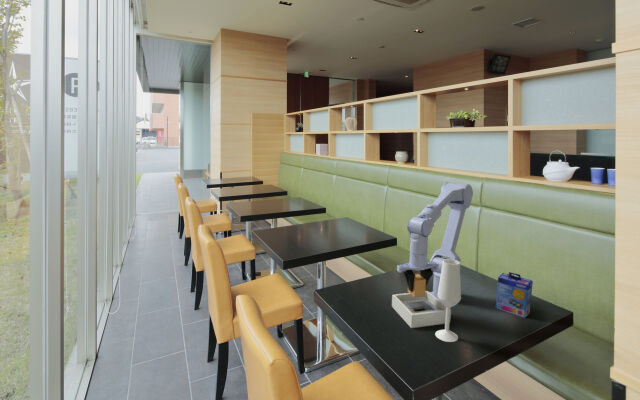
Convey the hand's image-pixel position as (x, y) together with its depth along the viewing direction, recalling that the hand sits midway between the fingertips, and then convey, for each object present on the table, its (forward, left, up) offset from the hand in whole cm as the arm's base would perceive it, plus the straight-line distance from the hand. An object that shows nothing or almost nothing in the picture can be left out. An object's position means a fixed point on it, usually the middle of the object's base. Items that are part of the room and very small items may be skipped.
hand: (416, 289), depth 120 cm
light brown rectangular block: (0, 0, -2) cm, 2 cm away
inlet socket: (-1, +2, -8) cm, 9 cm away
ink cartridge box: (-34, +7, -9) cm, 35 cm away
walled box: (-1, +2, -8) cm, 9 cm away
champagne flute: (-2, +16, -9) cm, 18 cm away
